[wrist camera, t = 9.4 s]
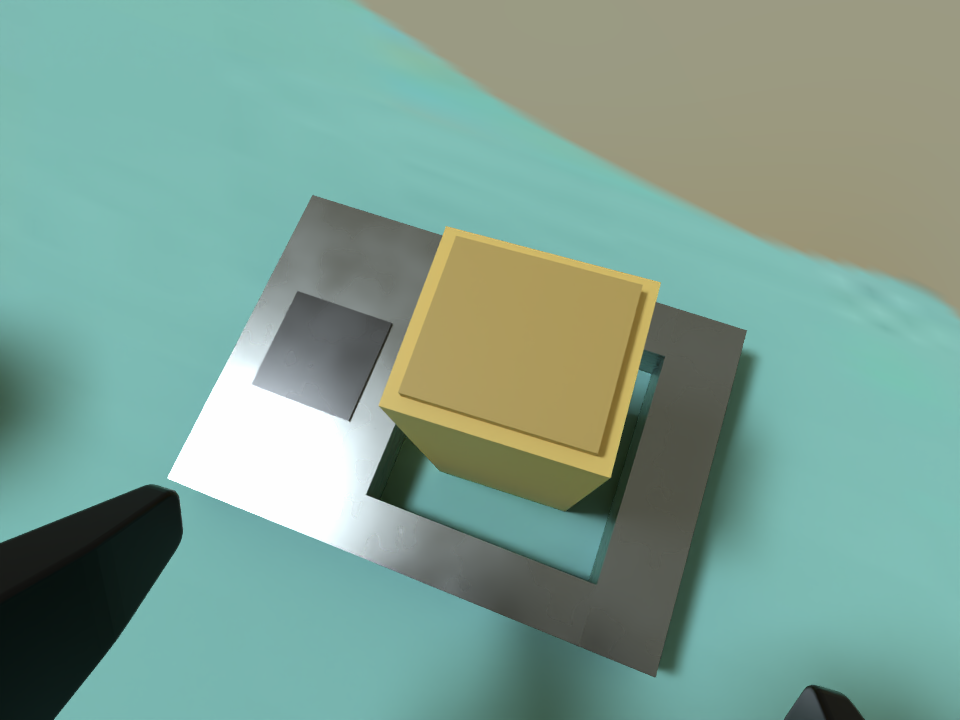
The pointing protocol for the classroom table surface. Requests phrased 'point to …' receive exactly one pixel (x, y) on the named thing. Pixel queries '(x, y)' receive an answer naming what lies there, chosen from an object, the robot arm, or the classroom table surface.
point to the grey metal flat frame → (377, 439)
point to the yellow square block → (520, 367)
